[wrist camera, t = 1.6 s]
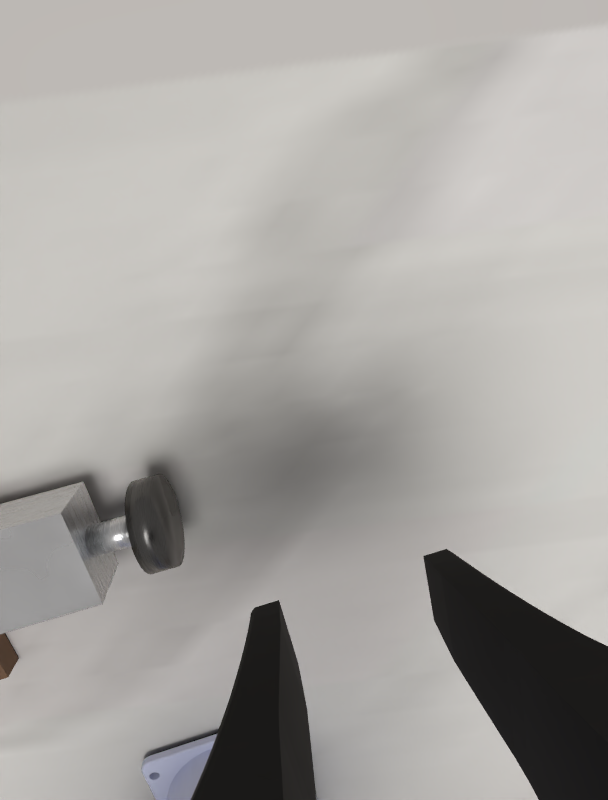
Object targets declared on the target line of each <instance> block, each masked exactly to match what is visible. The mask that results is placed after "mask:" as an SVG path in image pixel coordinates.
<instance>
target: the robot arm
mask: <svg viewBox="0 0 608 800" xmlns="http://www.w3.org/2000/svg"><path fill="white" fill-rule="evenodd" d="M424 562H425V568H426V574H427V580H428V586H429V592H430V598H431V604H432V610H433V616H434V621H435V623H436V625H437V627H438V629H439V631H440V633H441V635H442V637H443V639H444V641H445V643H446V645H447V647H448V649H449V651H450V653H451V655H452V657H453V659H454V661H455V663H456V664H457V666H458V668H459V669H460V671H461V673H462V674H463V676H464V677H465V679H466V681H467V682H468V684H469V685H470V687H471V689H472V690H473V692H474V693H475V695H476V697H477V698H478V700H479V701H480V703H481V704H482V706H483V708H484V709H485V711H486V712H487V714H488V716H489V717H490V719H491V720H492V722H493V723H494V725H495V727H496V728H497V730H498V731H499V733H500V735H501V736H502V738H503V739H504V741H505V742H506V744H507V746H508V747H509V749H510V750H511V752H512V754H513V755H514V757H515V758H516V760H517V762H518V763H519V765H520V767H521V768H522V770H523V772H524V774H525V775H526V777H527V779H528V780H529V782H530V784H531V786H532V788H533V789H534V791H535V793H536V795H537V797H538V799H539V800H608V646H606V645H604V644H602V643H600V642H597V641H595V640H593V639H591V638H589V637H587V636H585V635H583V634H582V633H580V632H578V631H576V630H574V629H572V628H570V627H569V626H567V625H565V624H563V623H562V622H560V621H558V620H556V619H554V618H553V617H551V616H549V615H547V614H546V613H544V612H542V611H541V610H539V609H537V608H536V607H534V606H532V605H531V604H529V603H527V602H526V601H524V600H523V599H521V598H519V597H518V596H516V595H515V594H513V593H511V592H510V591H508V590H507V589H505V588H504V587H502V586H500V585H499V584H497V583H496V582H494V581H493V580H491V579H490V578H488V577H487V576H485V575H484V574H482V573H481V572H479V571H478V570H477V569H475V568H474V567H472V566H471V565H469V564H468V563H466V562H465V561H464V560H462V559H461V558H459V557H458V556H456V555H455V554H454V553H452V552H451V551H449V550H447V549H445V550H442V551H439V552H435V553H432V554H429V555H426V556H424ZM141 770H142V773H143V775H144V777H145V779H146V781H147V783H148V785H149V787H150V789H151V791H152V793H153V795H154V797H155V799H156V800H317V797H316V792H315V782H314V772H313V762H312V753H311V743H310V733H309V723H308V714H307V707H306V702H305V696H304V691H303V686H302V681H301V676H300V671H299V666H298V662H297V658H296V655H295V652H294V648H293V645H292V642H291V639H290V635H289V632H288V629H287V625H286V622H285V619H284V615H283V612H282V609H281V605H280V602H279V600H278V601H275V602H272V603H268V604H265V605H262V606H259V607H255V608H254V609H253V611H252V612H251V617H250V623H249V628H248V633H247V638H246V642H245V646H244V650H243V654H242V658H241V662H240V666H239V669H238V672H237V676H236V679H235V683H234V686H233V690H232V693H231V696H230V699H229V702H228V705H227V708H226V711H225V714H224V716H223V719H222V722H221V725H220V728H219V731H218V733H217V734H214V735H211V736H208V737H205V738H202V739H199V740H196V741H193V742H190V743H187V744H184V745H181V746H178V747H175V748H172V749H169V750H166V751H163V752H160V753H156V754H153V755H150V756H148V757H146V758H145V759H144V760H143V763H142V768H141Z"/></svg>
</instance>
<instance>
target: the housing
mask: <svg viewBox="0 0 608 800" xmlns="http://www.w3.org/2000/svg"><path fill="white" fill-rule="evenodd" d="M17 660H18V656H17V654H16V653H15V651H14V649H13V647H12V646H11V644H10V642H9V640H8V639H7V637H6V635H5V633H3V634H0V680H1V679H4V678H7V677H8V676H9V675H10V673H11V671H12V669H13V667H14V666H15V664H16V662H17Z"/></svg>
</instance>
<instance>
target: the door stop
mask: <svg viewBox="0 0 608 800" xmlns="http://www.w3.org/2000/svg"><path fill="white" fill-rule="evenodd" d="M131 546H132V550H133V552H134V555H135V557H136V559H137V561H138V563H139V565H140V566H141V568H142V569H143V570H144V571H145V572H146V573H148V574H154V573H158V572H161V571H164V570H168V569H171V568H175V567H178V566H180V565H181V564H182V562H183V558H184V549H185V543H184V531H183V524H182V519H181V514H180V510H179V506H178V503H177V500H176V497H175V494H174V492H173V489H172V487H171V485H170V483H169V482H168V480H167V479H166V478H165V476H163V475H162V474H158V475H154V476H150V477H147V478H143V479H139V480H136V481H133V482H131V483H130V484H129V486H128V489H127V492H126V498H125V516H121V517H118V518H114V519H111V520H107V521H104V522H101V521H100V519H99V517H98V514H97V512H96V510H95V508H94V505H93V503H92V501H91V498H90V496H89V494H88V491H87V489H86V487H85V484H84V482H80V483H76V484H72V485H69V486H65V487H61V488H58V489H54V490H50V491H46V492H43V493H39V494H35V495H32V496H28V497H24V498H21V499H17V500H13V501H10V502H6V503H2V504H0V634H3V633H6V632H10V631H13V630H17V629H20V628H23V627H27V626H30V625H34V624H37V623H40V622H44V621H47V620H50V619H54V618H57V617H61V616H64V615H67V614H71V613H74V612H77V611H81V610H84V609H88V608H91V607H94V606H98V605H101V604H103V602H104V599H105V597H106V594H107V592H108V589H109V586H110V584H111V581H112V579H113V576H114V574H115V571H116V569H117V566H118V564H119V563H118V561H117V559H116V556H115V554H114V552H113V551H117V550H120V549H124V548H127V547H131Z"/></svg>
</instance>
